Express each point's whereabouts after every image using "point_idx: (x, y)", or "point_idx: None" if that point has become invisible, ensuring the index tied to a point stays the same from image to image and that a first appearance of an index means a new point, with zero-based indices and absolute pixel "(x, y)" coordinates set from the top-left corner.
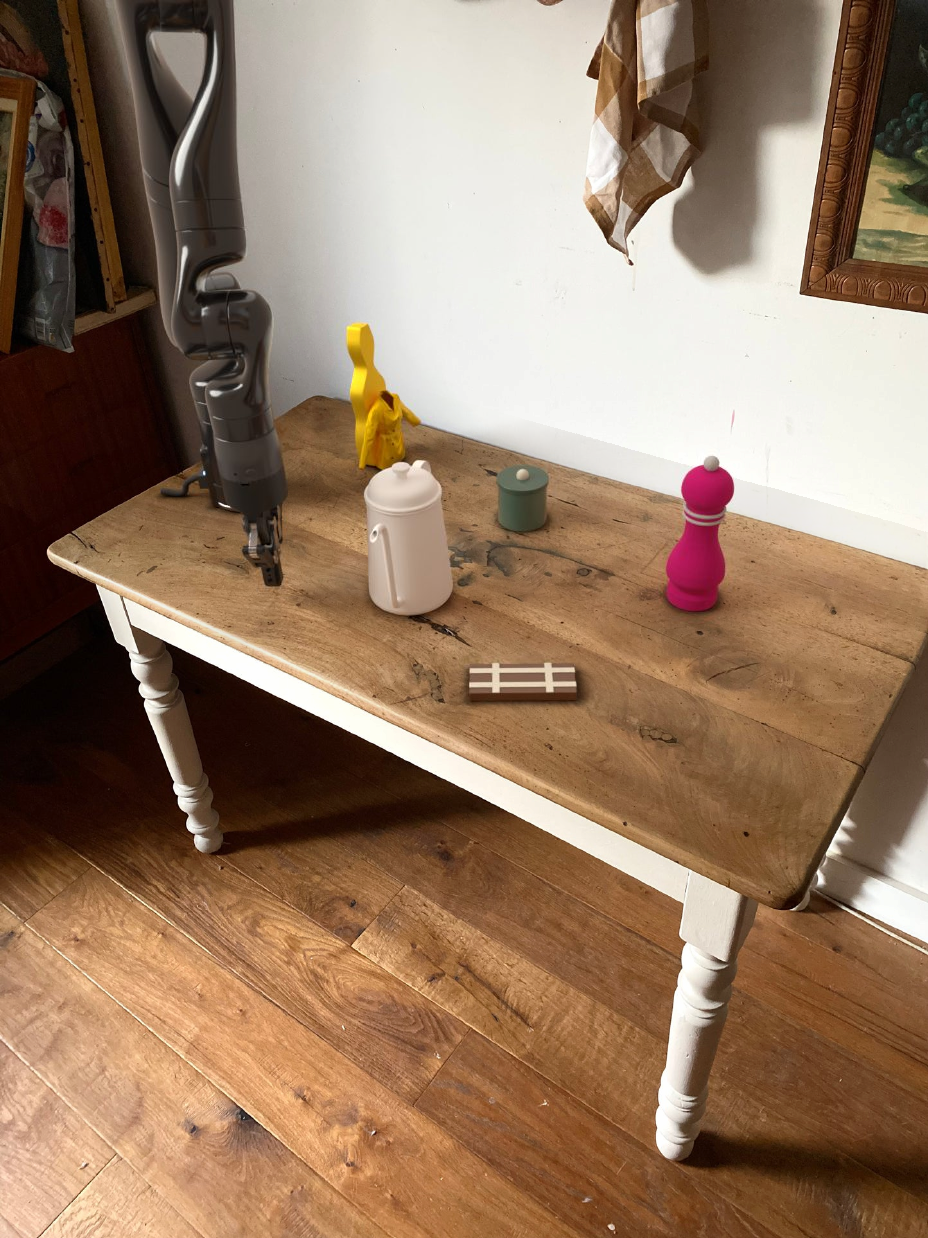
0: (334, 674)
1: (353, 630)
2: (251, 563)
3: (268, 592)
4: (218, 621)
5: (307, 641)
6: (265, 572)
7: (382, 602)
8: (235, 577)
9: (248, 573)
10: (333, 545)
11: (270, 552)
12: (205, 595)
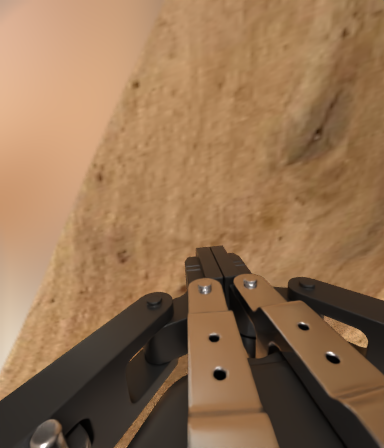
0: (5, 387)
1: None
2: (100, 331)
3: (221, 224)
4: (113, 146)
5: (80, 330)
6: (187, 282)
7: None
8: (276, 137)
9: (289, 163)
10: None
11: (236, 319)
12: (208, 81)
